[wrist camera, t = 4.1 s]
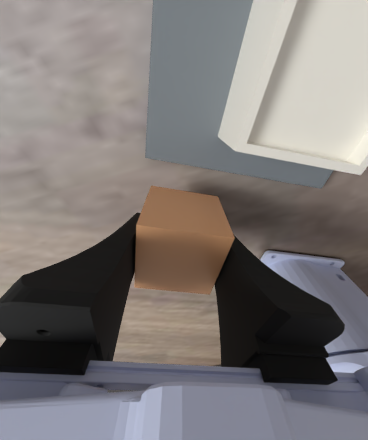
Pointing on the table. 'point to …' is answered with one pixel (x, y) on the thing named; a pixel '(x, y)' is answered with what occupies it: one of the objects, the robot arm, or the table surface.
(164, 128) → the baseplate
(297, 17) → the cream base block
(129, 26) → the table surface
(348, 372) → the robot arm
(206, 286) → the orange block
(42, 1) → the table surface
